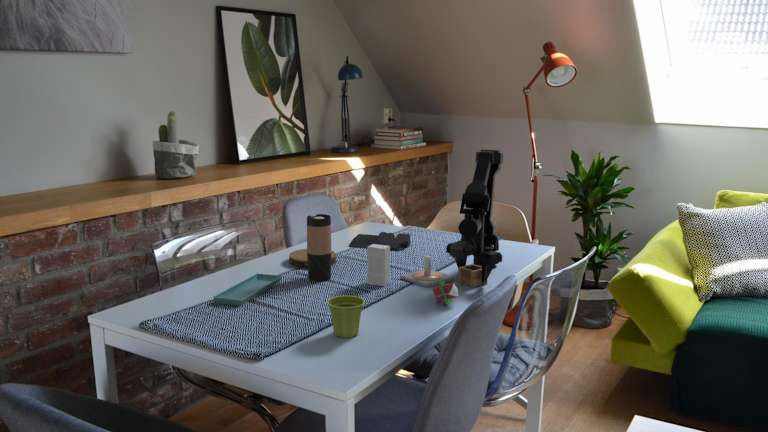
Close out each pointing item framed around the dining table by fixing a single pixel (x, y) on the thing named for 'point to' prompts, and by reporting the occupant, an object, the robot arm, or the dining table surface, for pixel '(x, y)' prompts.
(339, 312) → the plant pot
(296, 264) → the round wooden board
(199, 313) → the dining table surface
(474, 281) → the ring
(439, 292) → the geometric puzzle
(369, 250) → the skincare box
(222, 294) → the teal serving tray
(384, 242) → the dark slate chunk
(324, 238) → the travel mug
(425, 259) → the beige round peg stand
